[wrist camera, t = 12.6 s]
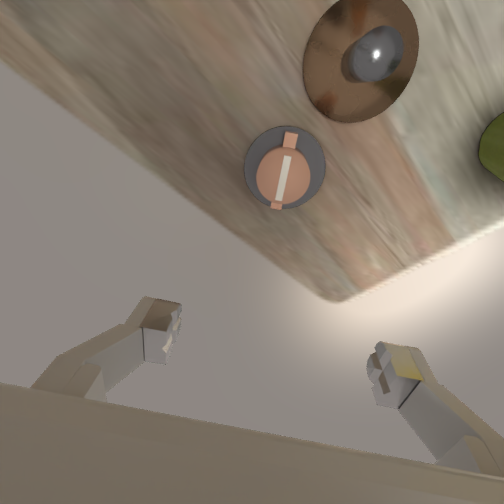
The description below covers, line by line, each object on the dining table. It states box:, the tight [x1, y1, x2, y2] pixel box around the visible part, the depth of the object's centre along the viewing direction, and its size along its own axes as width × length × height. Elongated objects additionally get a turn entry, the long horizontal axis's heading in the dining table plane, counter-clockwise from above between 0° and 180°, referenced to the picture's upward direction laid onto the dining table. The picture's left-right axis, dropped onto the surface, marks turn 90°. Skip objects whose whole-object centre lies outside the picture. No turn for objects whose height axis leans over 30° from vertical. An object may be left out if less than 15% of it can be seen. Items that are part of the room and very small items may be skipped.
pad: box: [244, 126, 325, 209], centre depth 35 cm, size 10×10×1 cm
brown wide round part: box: [303, 0, 419, 122], centre depth 25 cm, size 11×11×8 cm
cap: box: [256, 131, 310, 210], centre depth 33 cm, size 9×6×4 cm, turn 171°
